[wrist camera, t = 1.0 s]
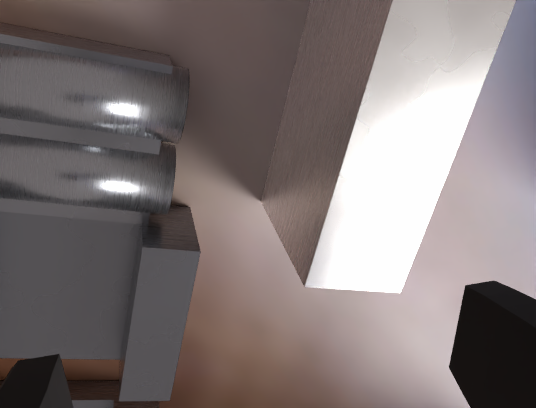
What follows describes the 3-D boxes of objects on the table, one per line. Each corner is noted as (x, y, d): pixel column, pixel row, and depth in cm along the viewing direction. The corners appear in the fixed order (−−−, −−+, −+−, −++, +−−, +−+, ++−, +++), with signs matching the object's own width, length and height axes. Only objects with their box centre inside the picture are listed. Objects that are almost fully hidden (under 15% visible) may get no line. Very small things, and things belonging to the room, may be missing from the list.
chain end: (217, 64, 16) (234, 88, 13) (164, 342, 20) (169, 400, 18) (-79, 7, 14) (-128, 22, 11) (-68, 337, 18) (-101, 404, 15)
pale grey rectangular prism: (436, -119, 15) (575, -148, 11) (334, 208, 20) (400, 292, 15) (346, -151, 14) (453, -197, 10) (259, 199, 19) (304, 287, 14)
